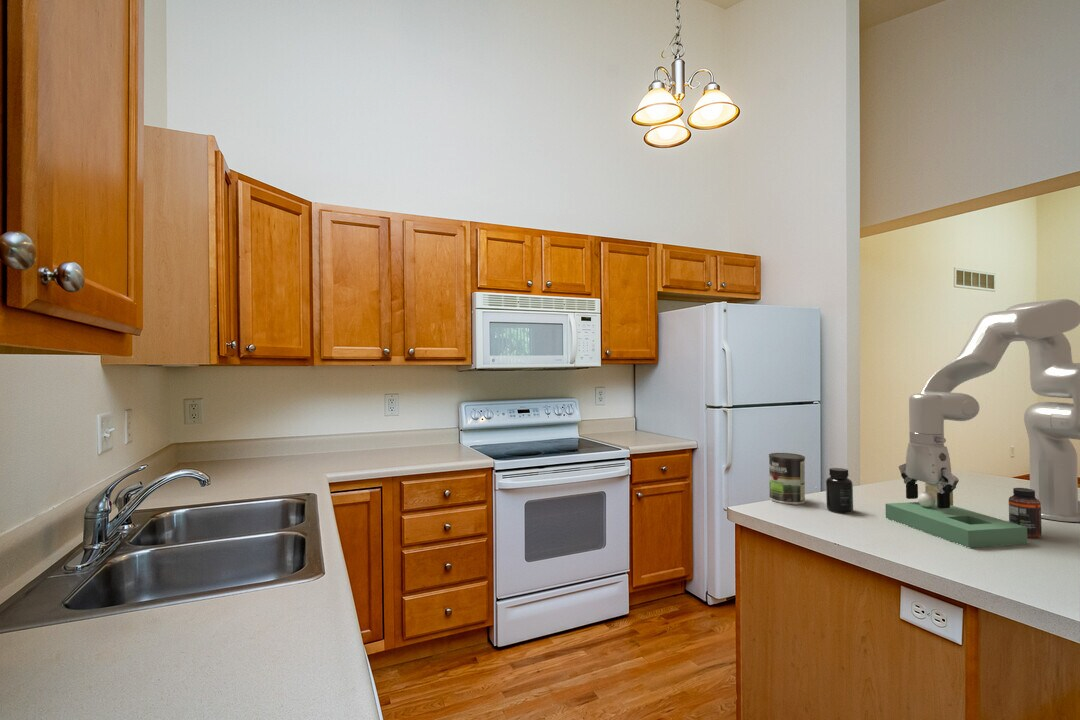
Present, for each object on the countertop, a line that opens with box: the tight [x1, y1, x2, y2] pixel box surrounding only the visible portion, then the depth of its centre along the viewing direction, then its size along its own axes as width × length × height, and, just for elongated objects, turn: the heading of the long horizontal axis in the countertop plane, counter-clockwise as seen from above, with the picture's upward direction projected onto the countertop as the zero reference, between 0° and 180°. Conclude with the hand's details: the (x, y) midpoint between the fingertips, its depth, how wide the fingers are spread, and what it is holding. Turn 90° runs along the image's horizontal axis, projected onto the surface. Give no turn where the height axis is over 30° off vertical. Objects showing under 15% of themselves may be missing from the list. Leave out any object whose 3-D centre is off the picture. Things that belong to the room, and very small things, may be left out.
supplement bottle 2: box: [1008, 487, 1043, 539], centre depth 130 cm, size 6×6×11 cm
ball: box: [917, 491, 936, 507], centre depth 141 cm, size 4×4×4 cm
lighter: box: [924, 482, 954, 506], centre depth 153 cm, size 7×4×10 cm, turn 23°
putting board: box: [885, 501, 1028, 548], centre depth 134 cm, size 16×24×4 cm, turn 8°
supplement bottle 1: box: [825, 467, 854, 514], centre depth 153 cm, size 7×7×12 cm
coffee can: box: [768, 452, 806, 505], centre depth 165 cm, size 10×10×14 cm
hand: (927, 503), depth 141 cm, fingers open, 9 cm apart
